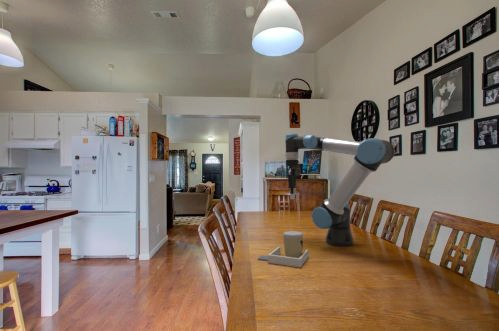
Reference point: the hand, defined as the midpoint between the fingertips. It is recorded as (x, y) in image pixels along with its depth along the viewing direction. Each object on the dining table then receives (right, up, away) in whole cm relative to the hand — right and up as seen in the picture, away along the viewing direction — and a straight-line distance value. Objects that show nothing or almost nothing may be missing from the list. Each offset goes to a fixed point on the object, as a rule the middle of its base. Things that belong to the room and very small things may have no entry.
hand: (292, 198), depth 163 cm
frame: (-8, -24, -37) cm, 44 cm away
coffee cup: (-5, -24, -35) cm, 43 cm away
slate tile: (-19, -25, -35) cm, 46 cm away
